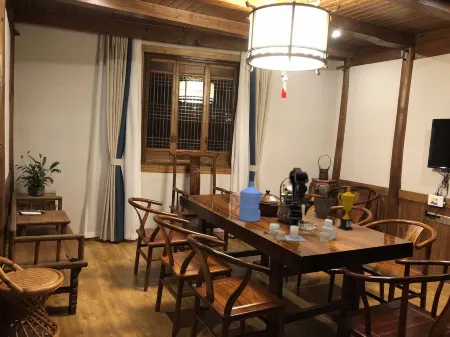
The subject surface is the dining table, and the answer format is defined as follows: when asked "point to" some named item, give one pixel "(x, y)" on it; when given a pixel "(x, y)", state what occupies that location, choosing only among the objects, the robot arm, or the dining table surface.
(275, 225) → the pale curved piece
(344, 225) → the trophy
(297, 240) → the felt mat
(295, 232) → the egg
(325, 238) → the beech block
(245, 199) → the water jug
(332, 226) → the medicine bottle
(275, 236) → the beech block
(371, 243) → the dining table surface
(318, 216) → the plant pot
